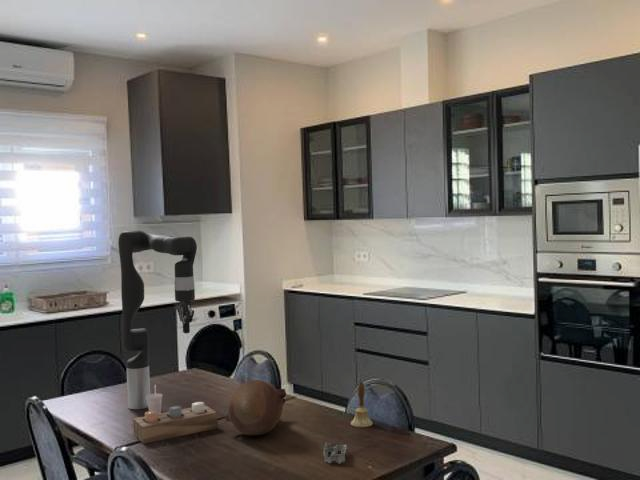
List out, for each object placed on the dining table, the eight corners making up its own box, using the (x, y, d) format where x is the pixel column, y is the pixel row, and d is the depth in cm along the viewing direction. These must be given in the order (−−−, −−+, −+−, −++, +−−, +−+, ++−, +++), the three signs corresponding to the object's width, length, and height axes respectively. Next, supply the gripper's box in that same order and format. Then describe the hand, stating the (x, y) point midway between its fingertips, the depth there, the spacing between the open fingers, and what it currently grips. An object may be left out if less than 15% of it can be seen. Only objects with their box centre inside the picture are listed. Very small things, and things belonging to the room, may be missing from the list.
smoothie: (159, 422, 249) (157, 386, 248) (143, 421, 250) (142, 386, 250) (166, 417, 255) (164, 382, 255) (151, 416, 256) (150, 382, 256)
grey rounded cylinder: (167, 423, 238) (167, 407, 238) (179, 421, 241) (179, 405, 240) (171, 426, 234) (171, 410, 234) (183, 424, 237) (183, 408, 236)
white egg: (190, 418, 243) (190, 403, 243) (202, 416, 245) (201, 401, 245) (195, 422, 239) (194, 406, 239) (206, 419, 241) (206, 403, 241)
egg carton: (325, 452, 212) (324, 440, 212) (347, 452, 211) (346, 440, 211) (322, 464, 201) (321, 452, 201) (345, 464, 201) (344, 452, 201)
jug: (261, 446, 218) (295, 433, 246) (274, 390, 219) (307, 383, 247) (211, 429, 226) (250, 418, 254) (224, 375, 227) (261, 370, 255)
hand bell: (375, 421, 241) (374, 379, 241) (368, 428, 234) (366, 385, 233) (355, 419, 245) (354, 378, 244) (347, 426, 237) (345, 383, 237)
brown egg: (143, 428, 233) (143, 412, 233) (156, 425, 236) (155, 409, 236) (147, 431, 229) (146, 415, 229) (160, 429, 232) (159, 412, 232)
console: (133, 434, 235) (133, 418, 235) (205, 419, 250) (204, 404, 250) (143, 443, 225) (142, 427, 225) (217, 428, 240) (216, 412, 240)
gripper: (169, 287, 250) (171, 331, 250) (181, 290, 238) (182, 336, 239) (187, 286, 254) (189, 329, 254) (200, 288, 242) (201, 334, 243)
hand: (186, 332), depth 246 cm, fingers closed
